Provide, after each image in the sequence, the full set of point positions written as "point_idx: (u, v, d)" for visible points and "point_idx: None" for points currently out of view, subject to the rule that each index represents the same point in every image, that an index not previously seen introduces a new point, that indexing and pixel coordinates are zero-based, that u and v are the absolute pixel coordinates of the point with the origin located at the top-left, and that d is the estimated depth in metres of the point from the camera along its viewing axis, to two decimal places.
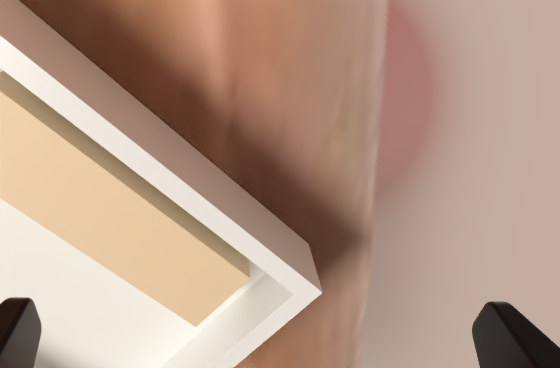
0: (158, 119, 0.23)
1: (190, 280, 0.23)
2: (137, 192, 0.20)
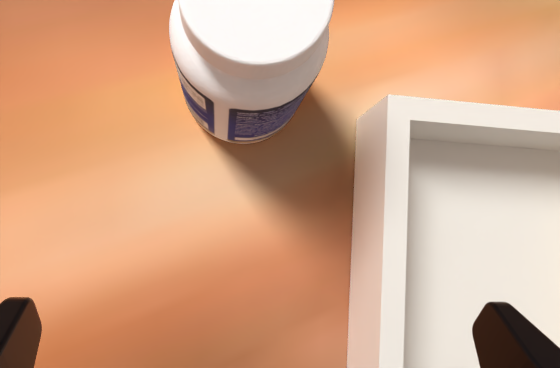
0: None
1: None
2: None
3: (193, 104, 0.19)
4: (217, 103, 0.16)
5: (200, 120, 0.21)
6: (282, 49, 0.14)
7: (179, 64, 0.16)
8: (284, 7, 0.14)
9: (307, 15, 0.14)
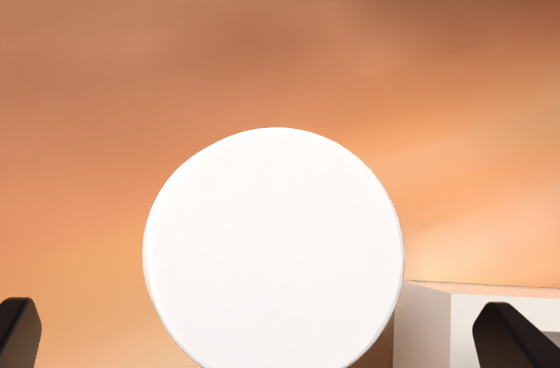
0: None
1: None
2: None
3: None
4: None
5: None
6: (321, 360, 0.08)
7: None
8: (324, 284, 0.08)
9: (361, 296, 0.08)
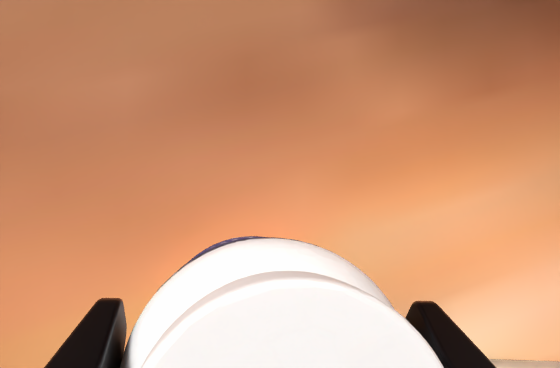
0: None
1: None
2: None
3: None
4: None
5: None
6: None
7: None
8: None
9: None
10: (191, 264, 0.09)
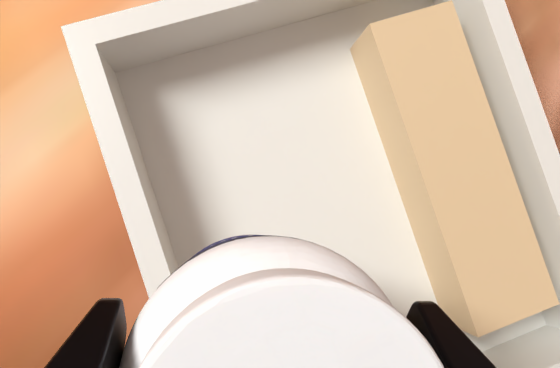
0: None
1: (502, 273, 0.20)
2: (504, 154, 0.20)
3: None
4: None
5: None
6: None
7: None
8: None
9: None
10: (190, 262, 0.09)
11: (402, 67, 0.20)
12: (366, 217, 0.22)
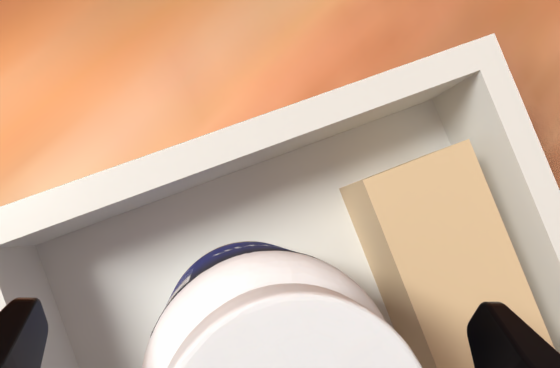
0: None
1: None
2: (548, 339, 0.16)
3: None
4: None
5: None
6: None
7: None
8: None
9: None
10: (204, 274, 0.10)
11: (409, 234, 0.15)
12: None
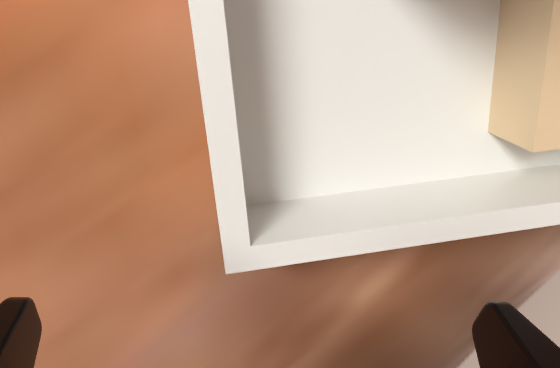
0: None
1: None
2: None
3: None
4: None
5: None
6: None
7: None
8: None
9: None
10: None
11: None
12: None
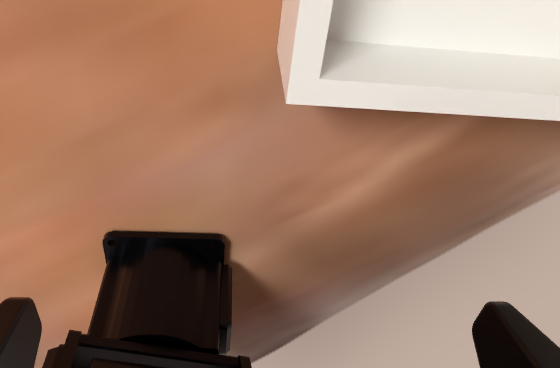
0: None
1: None
2: None
3: None
4: None
5: None
6: None
7: None
8: None
9: None
10: None
11: None
12: None
